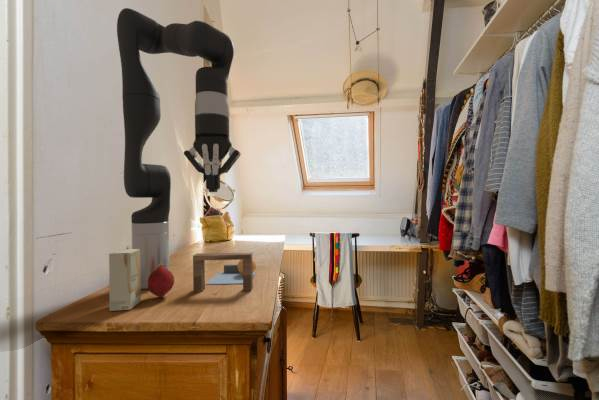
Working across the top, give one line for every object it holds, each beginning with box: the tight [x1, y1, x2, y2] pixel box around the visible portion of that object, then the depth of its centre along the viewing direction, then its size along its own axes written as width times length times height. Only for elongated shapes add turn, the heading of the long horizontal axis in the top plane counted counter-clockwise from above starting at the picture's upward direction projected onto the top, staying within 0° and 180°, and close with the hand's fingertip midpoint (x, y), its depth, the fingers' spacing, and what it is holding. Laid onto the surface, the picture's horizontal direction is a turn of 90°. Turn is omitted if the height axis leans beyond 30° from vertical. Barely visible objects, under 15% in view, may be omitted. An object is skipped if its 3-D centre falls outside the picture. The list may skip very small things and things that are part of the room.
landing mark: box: [205, 271, 256, 286], centre depth 88 cm, size 12×12×1 cm
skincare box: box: [108, 248, 142, 312], centre depth 66 cm, size 6×4×12 cm
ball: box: [237, 258, 257, 275], centre depth 92 cm, size 6×6×6 cm
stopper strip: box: [223, 264, 240, 273], centre depth 95 cm, size 8×1×2 cm, turn 91°
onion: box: [147, 264, 175, 298], centre depth 72 cm, size 6×6×8 cm
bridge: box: [192, 252, 254, 293], centre depth 77 cm, size 3×14×9 cm, turn 91°
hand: (213, 191), depth 69 cm, fingers closed
